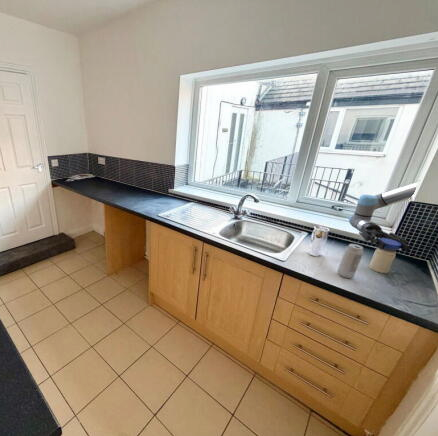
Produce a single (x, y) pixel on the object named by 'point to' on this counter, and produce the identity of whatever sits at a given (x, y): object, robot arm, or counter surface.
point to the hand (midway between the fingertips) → (395, 247)
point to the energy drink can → (350, 260)
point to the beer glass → (318, 240)
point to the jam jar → (382, 260)
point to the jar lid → (391, 244)
